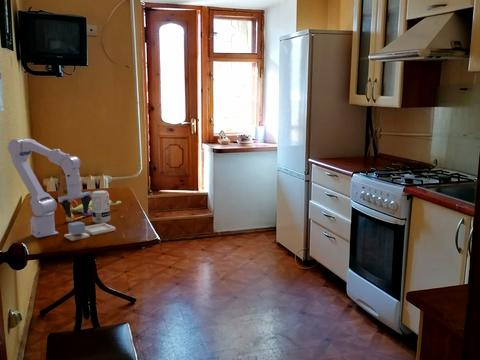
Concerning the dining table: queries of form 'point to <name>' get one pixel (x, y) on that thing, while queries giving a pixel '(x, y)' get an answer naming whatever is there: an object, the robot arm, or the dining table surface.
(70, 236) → the post stand
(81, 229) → the pale blue cube
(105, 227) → the tray
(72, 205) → the figurine
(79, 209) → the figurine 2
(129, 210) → the dining table surface
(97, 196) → the supplement can
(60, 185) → the coffee package
